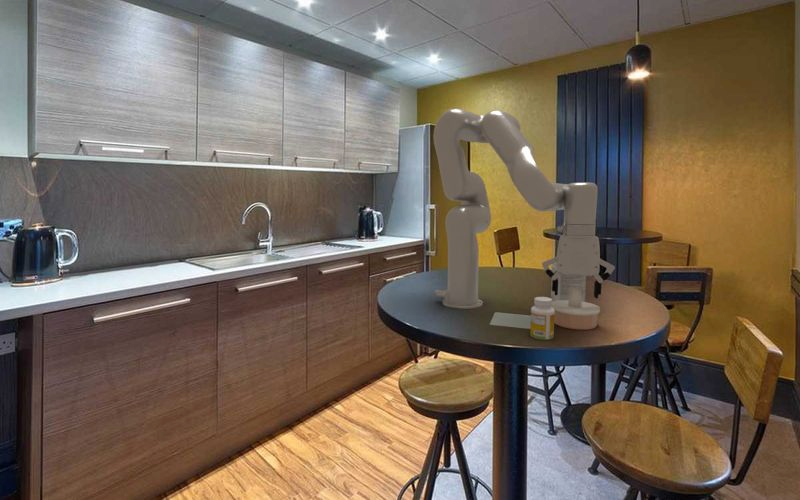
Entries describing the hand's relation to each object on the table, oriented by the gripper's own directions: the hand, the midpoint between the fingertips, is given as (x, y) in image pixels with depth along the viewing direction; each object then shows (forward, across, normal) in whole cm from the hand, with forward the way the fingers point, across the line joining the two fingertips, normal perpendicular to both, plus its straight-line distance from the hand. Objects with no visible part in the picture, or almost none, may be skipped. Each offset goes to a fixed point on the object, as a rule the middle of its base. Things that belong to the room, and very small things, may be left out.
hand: (575, 295), depth 103 cm
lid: (+4, 0, 0) cm, 4 cm away
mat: (+8, -15, -3) cm, 17 cm away
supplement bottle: (+8, -8, -13) cm, 17 cm away
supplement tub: (+8, -1, +16) cm, 18 cm away
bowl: (+8, 0, 0) cm, 8 cm away
